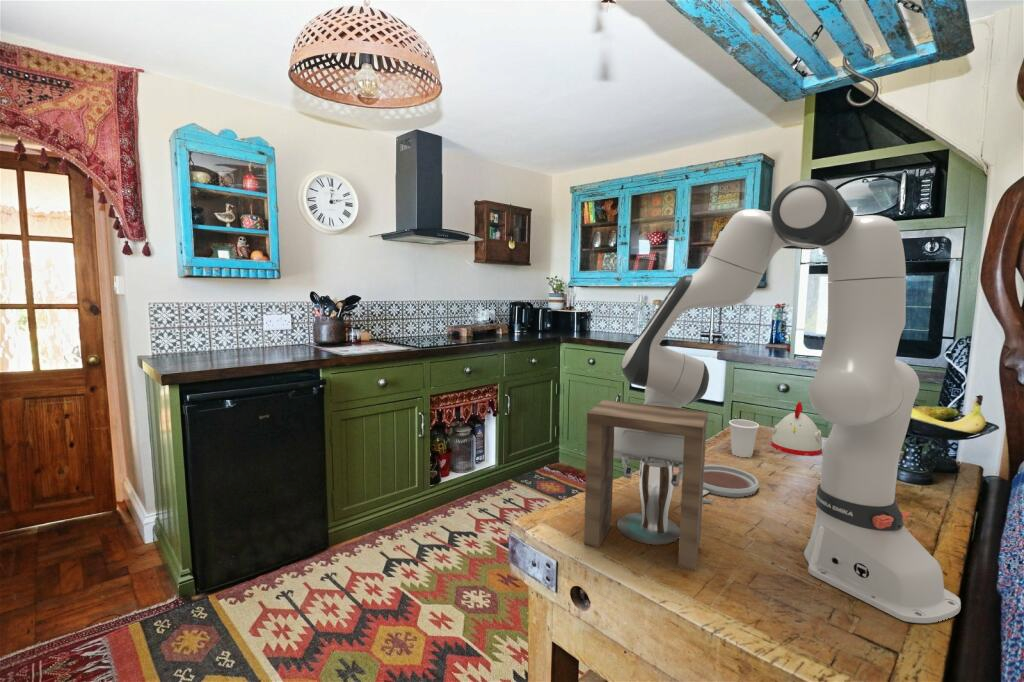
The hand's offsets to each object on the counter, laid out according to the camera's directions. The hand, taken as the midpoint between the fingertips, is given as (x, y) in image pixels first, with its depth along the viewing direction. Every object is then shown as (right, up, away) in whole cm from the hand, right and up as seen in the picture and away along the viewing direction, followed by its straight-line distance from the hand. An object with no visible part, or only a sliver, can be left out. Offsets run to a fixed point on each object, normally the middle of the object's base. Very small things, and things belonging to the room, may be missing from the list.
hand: (650, 481), depth 101 cm
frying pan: (+22, -9, +22) cm, 32 cm away
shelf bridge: (-1, -11, 0) cm, 11 cm away
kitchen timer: (+62, -5, +53) cm, 82 cm away
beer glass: (+1, -11, +1) cm, 11 cm away
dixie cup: (+42, -6, +47) cm, 63 cm away
